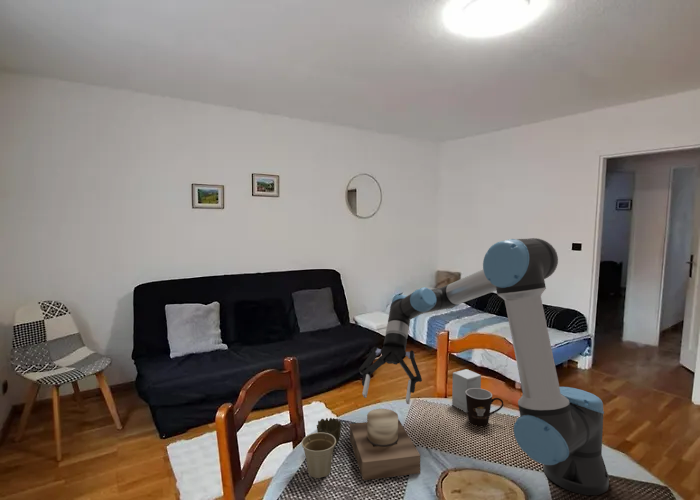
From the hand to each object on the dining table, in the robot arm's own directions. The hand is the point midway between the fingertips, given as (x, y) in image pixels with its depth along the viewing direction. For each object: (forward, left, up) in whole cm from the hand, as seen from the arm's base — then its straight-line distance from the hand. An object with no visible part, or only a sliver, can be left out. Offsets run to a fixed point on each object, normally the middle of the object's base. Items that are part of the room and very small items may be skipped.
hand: (385, 399), depth 119 cm
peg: (-5, +2, -13) cm, 15 cm away
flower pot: (-9, +21, -14) cm, 27 cm away
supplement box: (+18, -36, -14) cm, 42 cm away
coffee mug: (+6, -36, -14) cm, 39 cm away
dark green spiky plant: (+1, +17, -14) cm, 23 cm away
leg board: (-5, +2, -14) cm, 15 cm away
